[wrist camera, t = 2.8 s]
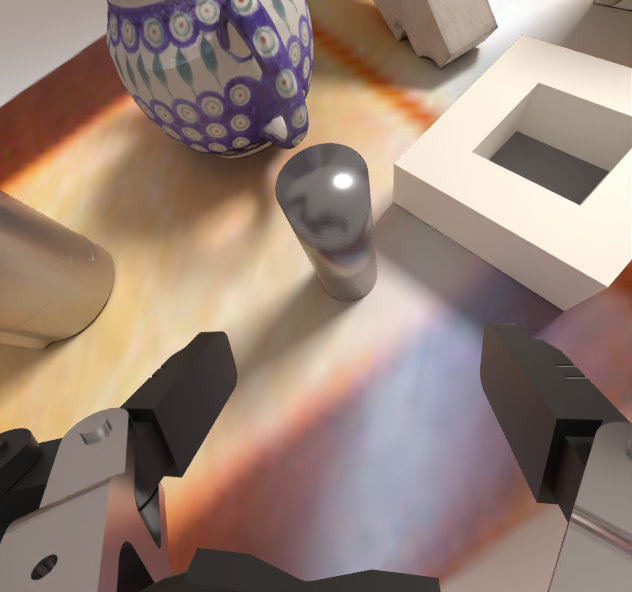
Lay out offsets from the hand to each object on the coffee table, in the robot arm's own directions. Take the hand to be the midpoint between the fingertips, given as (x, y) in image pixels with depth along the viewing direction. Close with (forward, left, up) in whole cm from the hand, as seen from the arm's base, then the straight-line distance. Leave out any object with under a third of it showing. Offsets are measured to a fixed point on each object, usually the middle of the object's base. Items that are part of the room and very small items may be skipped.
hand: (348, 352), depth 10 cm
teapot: (+10, +25, -11) cm, 29 cm away
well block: (+17, +1, -11) cm, 20 cm away
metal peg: (+4, +6, -11) cm, 13 cm away
